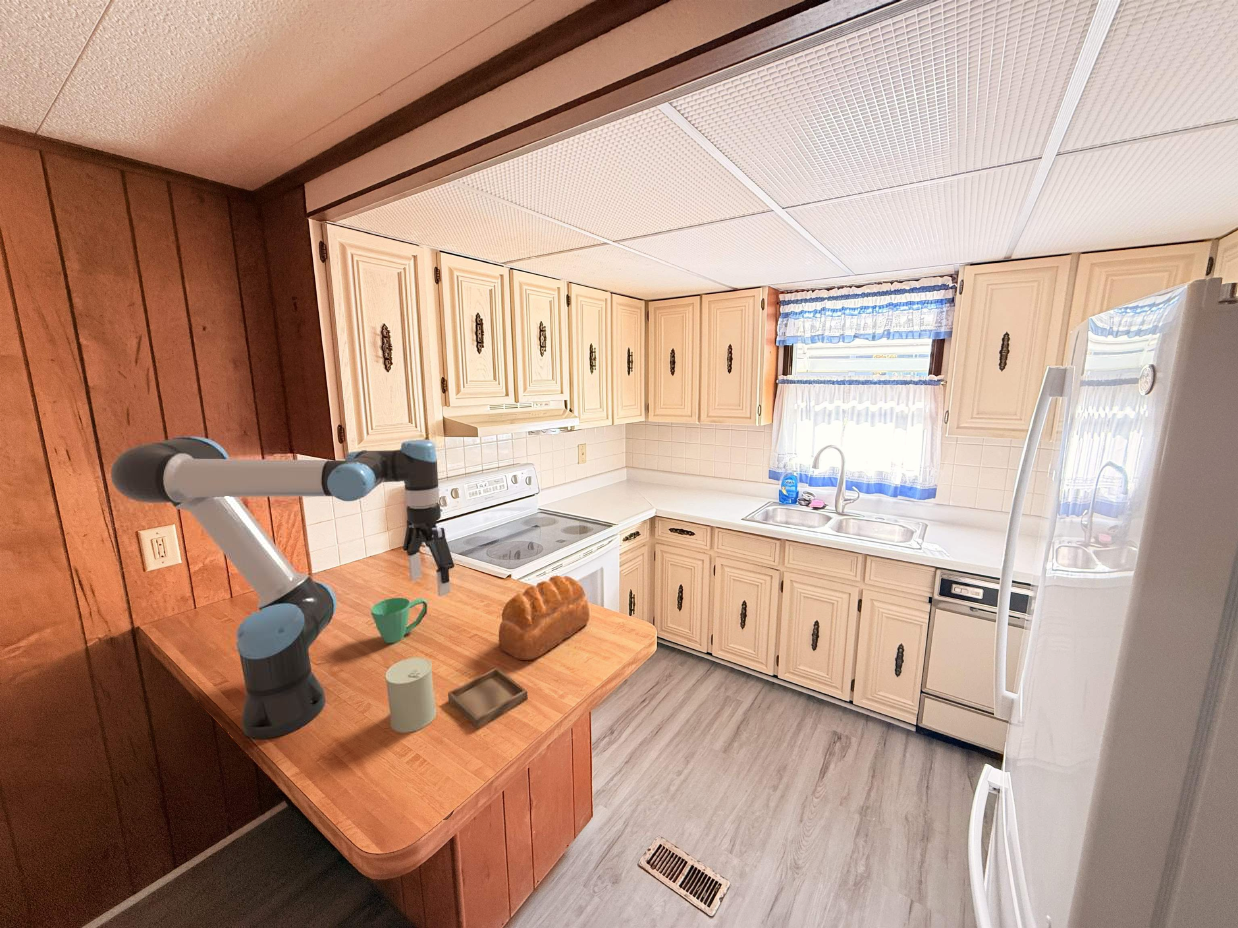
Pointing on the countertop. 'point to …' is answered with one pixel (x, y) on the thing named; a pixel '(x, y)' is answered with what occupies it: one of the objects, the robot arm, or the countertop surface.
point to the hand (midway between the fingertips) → (429, 586)
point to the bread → (542, 617)
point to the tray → (487, 697)
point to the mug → (396, 617)
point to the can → (410, 694)
